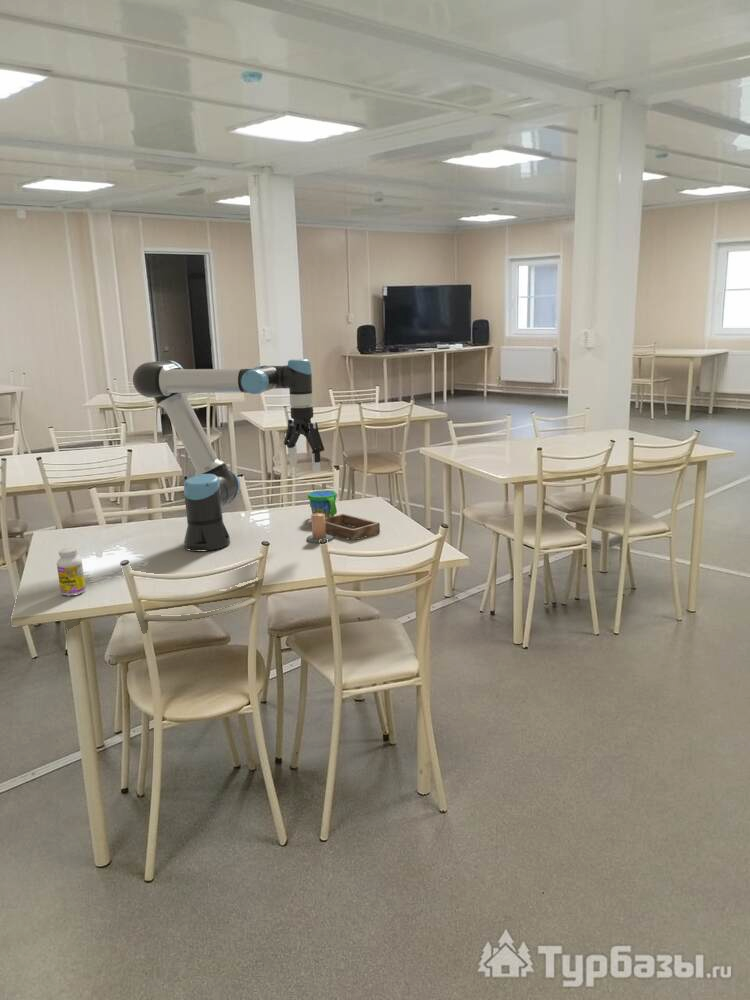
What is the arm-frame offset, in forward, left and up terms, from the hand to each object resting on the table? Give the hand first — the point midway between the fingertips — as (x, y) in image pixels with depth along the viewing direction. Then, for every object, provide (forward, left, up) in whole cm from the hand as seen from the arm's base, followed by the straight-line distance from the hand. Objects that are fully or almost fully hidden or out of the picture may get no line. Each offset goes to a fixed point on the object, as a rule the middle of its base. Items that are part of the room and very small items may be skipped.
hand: (304, 469), depth 260 cm
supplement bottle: (-80, +6, -24) cm, 83 cm away
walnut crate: (+12, -6, -24) cm, 27 cm away
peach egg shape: (0, -6, -23) cm, 24 cm away
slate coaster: (0, -6, -24) cm, 24 cm away
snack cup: (+16, +13, -24) cm, 32 cm away
